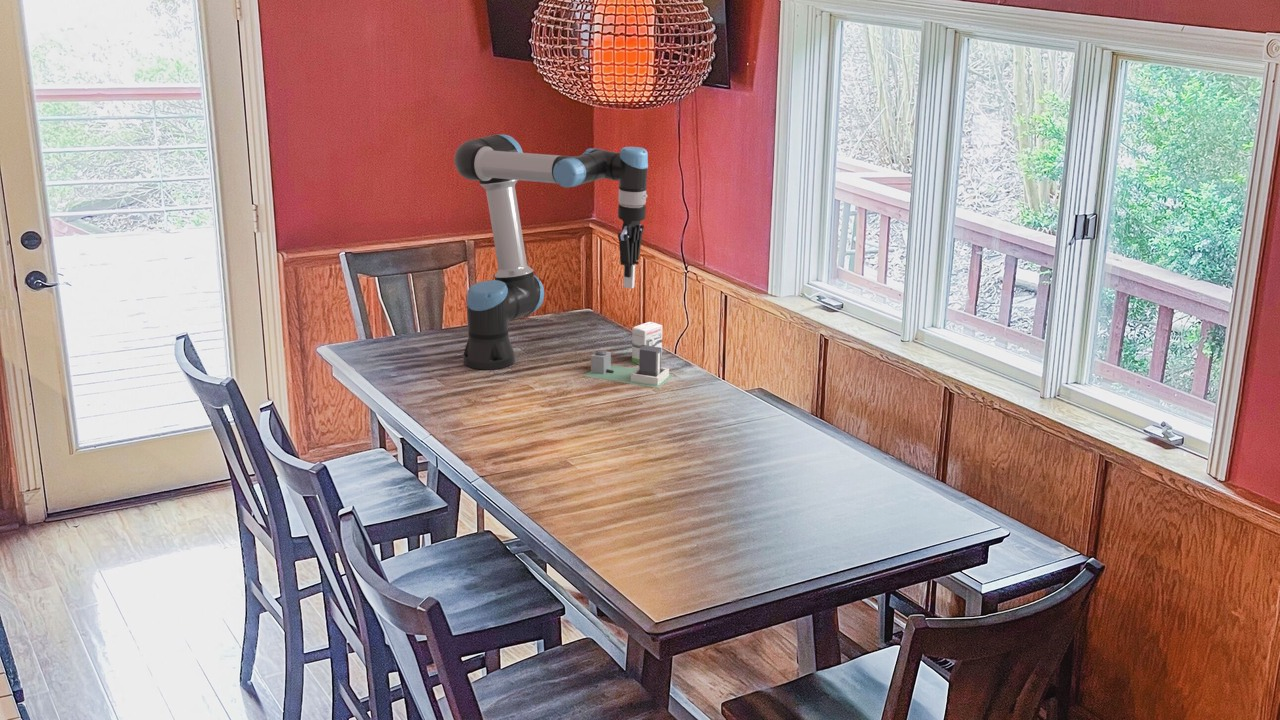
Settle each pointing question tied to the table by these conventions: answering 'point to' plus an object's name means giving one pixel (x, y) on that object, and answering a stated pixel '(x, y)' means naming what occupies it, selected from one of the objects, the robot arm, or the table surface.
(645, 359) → the plug
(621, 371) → the board
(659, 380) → the white square frame
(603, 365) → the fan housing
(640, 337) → the ink box
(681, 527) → the table surface
